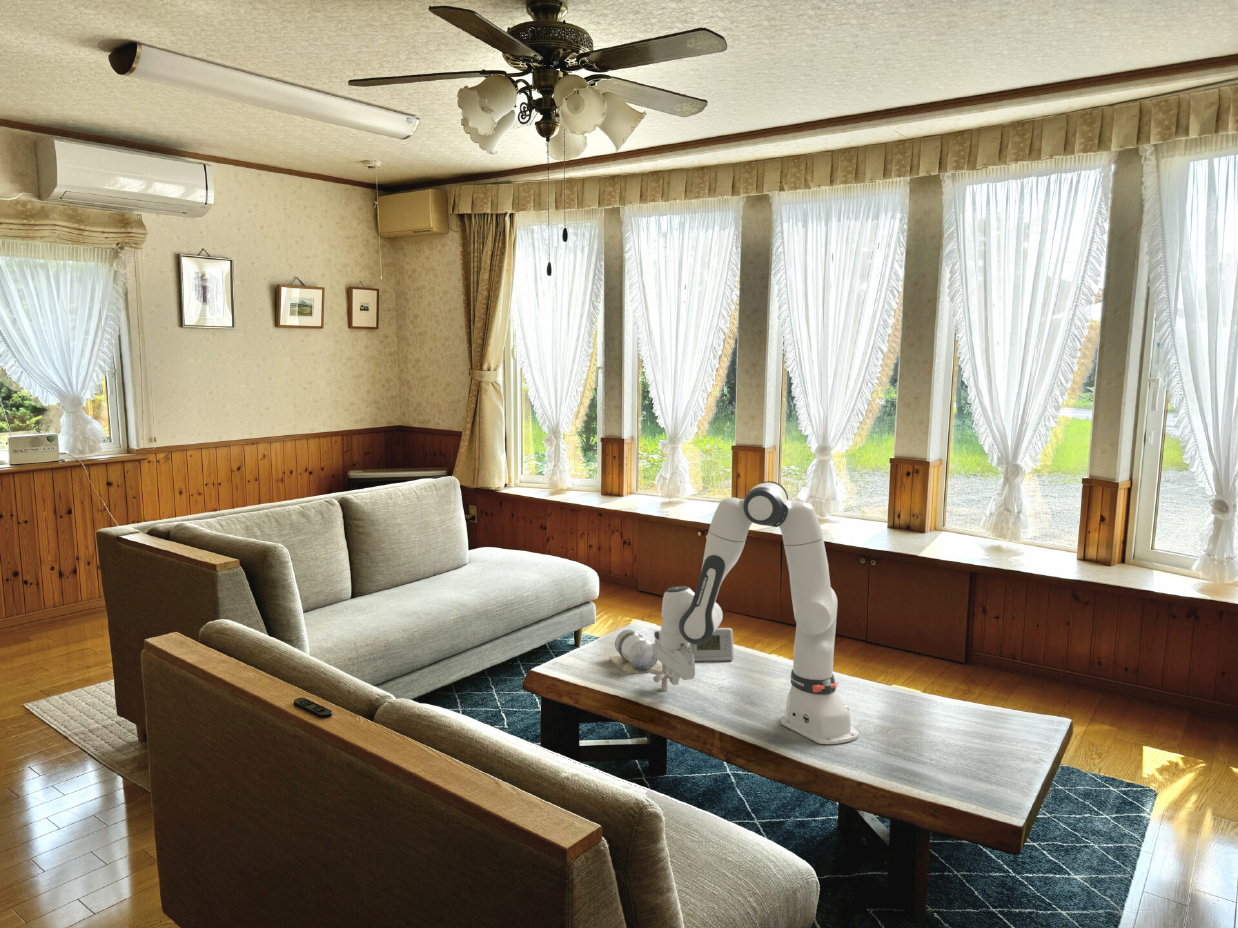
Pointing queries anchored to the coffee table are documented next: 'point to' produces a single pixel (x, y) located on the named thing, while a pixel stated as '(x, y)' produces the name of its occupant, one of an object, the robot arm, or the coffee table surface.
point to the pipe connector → (661, 676)
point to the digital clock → (715, 647)
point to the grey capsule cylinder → (634, 653)
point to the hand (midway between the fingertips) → (673, 683)
